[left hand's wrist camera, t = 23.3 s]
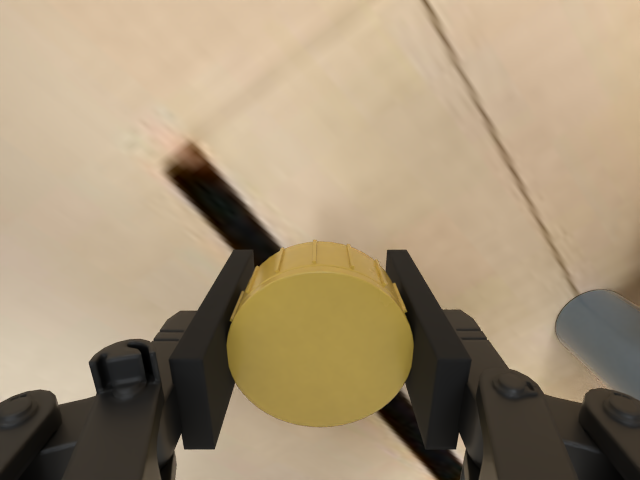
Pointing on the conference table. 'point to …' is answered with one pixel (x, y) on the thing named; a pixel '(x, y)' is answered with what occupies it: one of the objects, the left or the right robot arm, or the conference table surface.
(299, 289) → the lid
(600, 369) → the blue-grey bottle
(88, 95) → the conference table surface
